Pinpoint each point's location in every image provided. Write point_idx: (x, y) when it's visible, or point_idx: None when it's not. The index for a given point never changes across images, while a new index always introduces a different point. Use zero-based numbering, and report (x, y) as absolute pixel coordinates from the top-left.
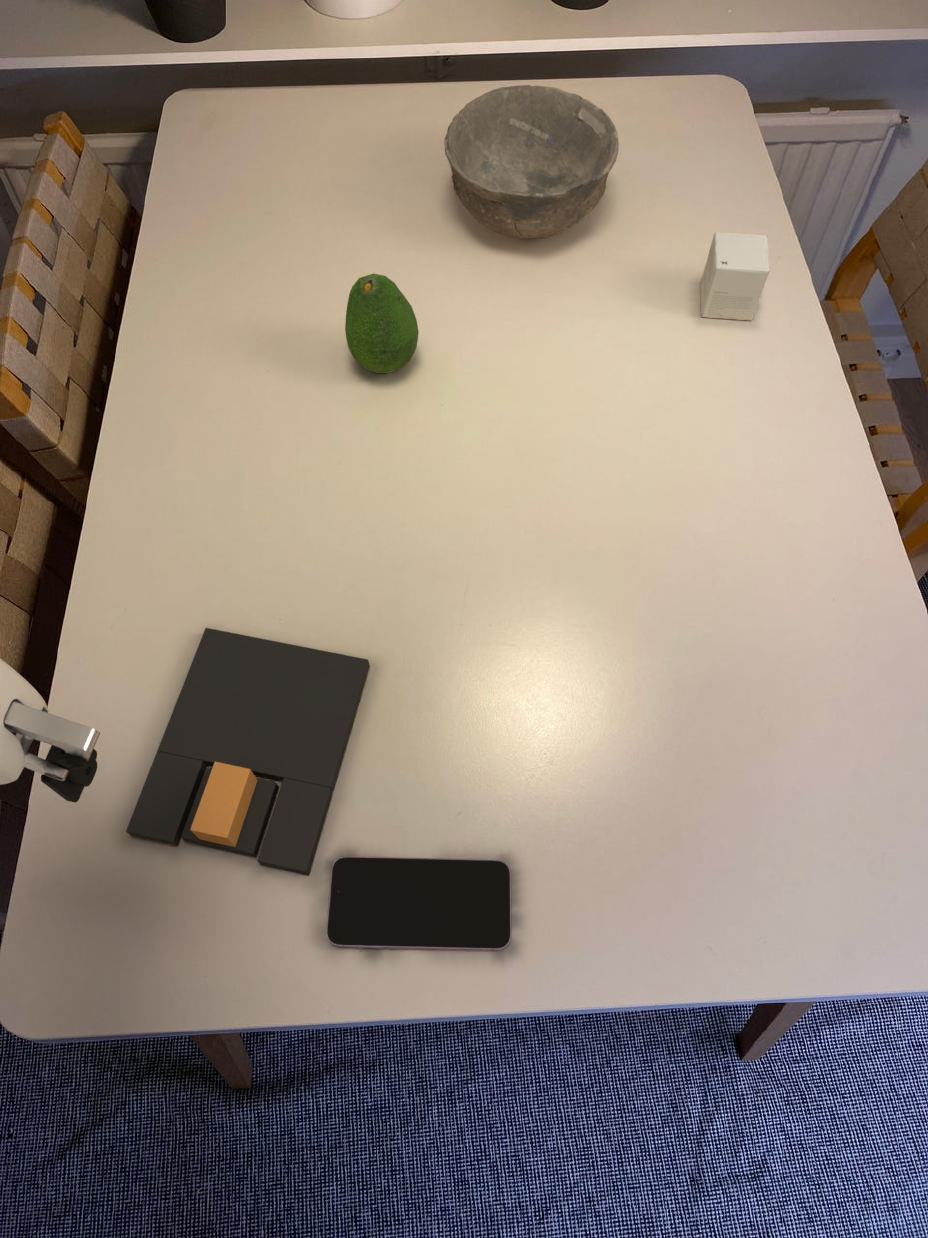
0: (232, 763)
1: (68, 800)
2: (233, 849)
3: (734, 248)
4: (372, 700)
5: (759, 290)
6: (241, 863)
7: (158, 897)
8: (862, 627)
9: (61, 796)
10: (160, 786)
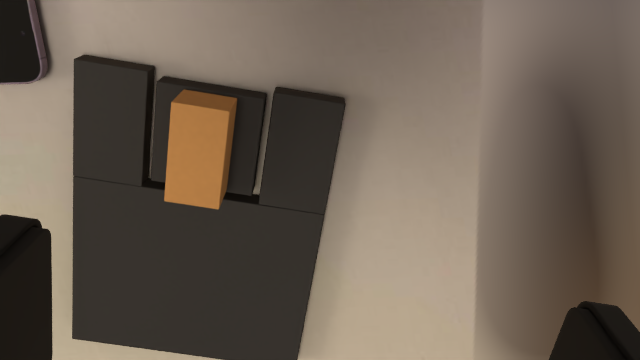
0: None
1: (12, 224)
2: (185, 86)
3: None
4: (65, 285)
5: None
6: (182, 67)
7: (288, 14)
8: None
9: (5, 245)
10: (309, 168)
